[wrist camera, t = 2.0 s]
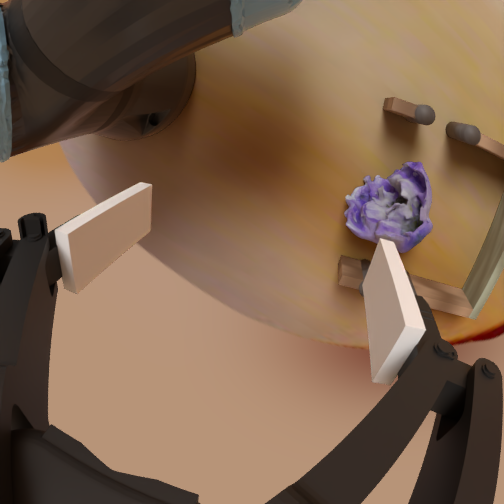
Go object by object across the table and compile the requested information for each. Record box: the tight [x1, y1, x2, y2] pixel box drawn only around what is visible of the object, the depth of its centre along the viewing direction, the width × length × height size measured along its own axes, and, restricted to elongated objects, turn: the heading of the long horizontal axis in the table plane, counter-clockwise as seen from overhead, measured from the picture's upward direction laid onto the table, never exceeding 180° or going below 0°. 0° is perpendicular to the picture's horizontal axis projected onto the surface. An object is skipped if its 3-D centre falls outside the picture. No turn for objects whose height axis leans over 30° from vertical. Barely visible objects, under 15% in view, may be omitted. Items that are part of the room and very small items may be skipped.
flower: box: [344, 162, 433, 253], centre depth 27 cm, size 9×9×10 cm
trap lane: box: [338, 97, 504, 320], centre depth 27 cm, size 18×20×5 cm
